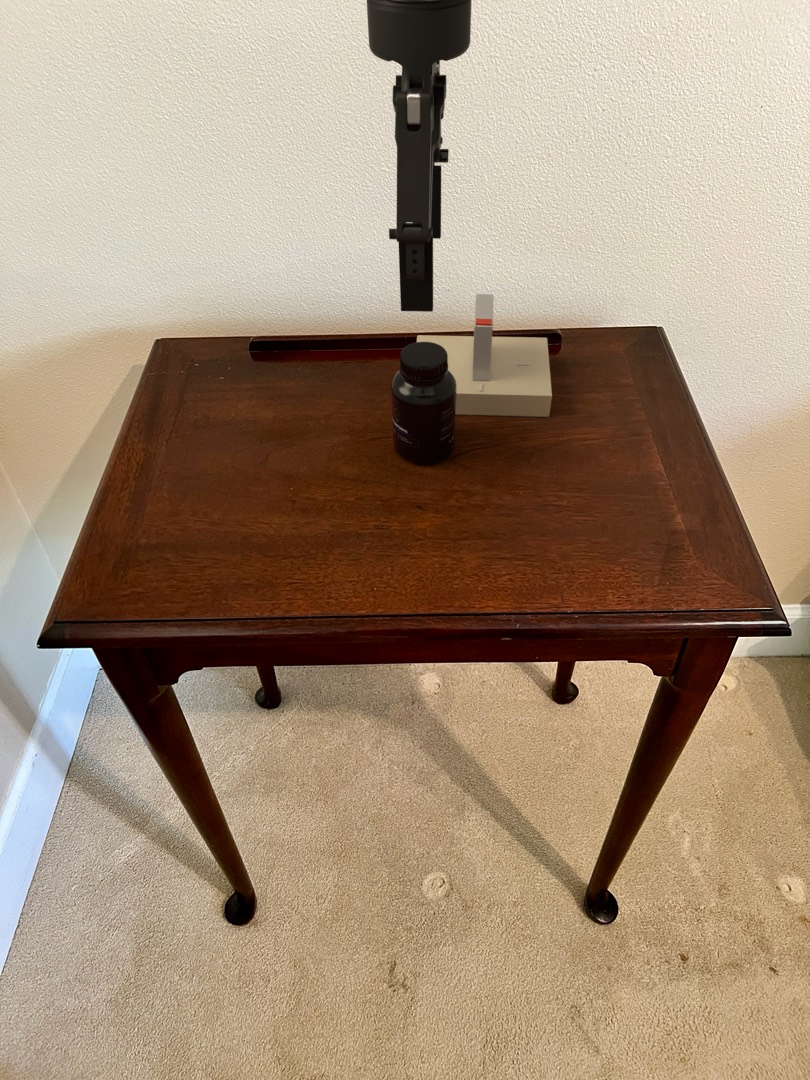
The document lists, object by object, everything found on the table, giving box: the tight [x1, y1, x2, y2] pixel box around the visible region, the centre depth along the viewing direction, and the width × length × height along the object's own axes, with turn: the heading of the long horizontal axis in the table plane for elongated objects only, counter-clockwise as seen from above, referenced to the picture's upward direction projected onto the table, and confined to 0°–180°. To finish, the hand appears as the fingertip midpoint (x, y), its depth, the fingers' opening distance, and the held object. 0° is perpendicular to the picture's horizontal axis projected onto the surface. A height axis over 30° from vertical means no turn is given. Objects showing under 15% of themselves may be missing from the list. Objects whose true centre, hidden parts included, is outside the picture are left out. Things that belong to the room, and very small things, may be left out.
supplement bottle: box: [390, 341, 457, 466], centre depth 80 cm, size 7×7×12 cm
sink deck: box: [416, 334, 553, 418], centre depth 91 cm, size 16×12×3 cm
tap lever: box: [472, 293, 494, 381], centre depth 87 cm, size 7×2×7 cm, turn 175°
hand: (422, 271), depth 69 cm, fingers open, 13 cm apart
